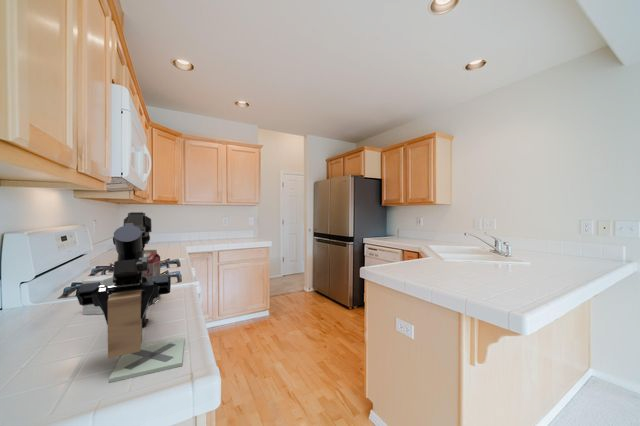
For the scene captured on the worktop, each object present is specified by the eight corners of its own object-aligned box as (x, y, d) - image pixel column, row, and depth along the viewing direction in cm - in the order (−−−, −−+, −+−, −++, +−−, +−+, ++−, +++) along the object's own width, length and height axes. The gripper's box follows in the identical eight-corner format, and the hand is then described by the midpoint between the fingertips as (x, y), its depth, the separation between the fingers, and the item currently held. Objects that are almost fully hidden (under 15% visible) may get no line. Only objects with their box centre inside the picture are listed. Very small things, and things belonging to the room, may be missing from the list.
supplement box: (117, 307, 103) (117, 275, 103) (102, 314, 95) (102, 280, 95) (98, 307, 102) (98, 275, 102) (81, 315, 95) (81, 280, 95)
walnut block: (112, 346, 63) (111, 293, 63) (142, 340, 66) (141, 289, 66) (107, 358, 58) (107, 300, 58) (140, 351, 61) (140, 295, 61)
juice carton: (153, 304, 105) (152, 250, 105) (135, 305, 104) (134, 251, 104) (160, 299, 112) (160, 248, 112) (143, 300, 111) (143, 249, 111)
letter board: (124, 352, 69) (124, 348, 69) (184, 340, 75) (184, 337, 75) (108, 382, 56) (108, 378, 56) (182, 366, 62) (182, 362, 62)
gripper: (78, 249, 60) (63, 312, 51) (170, 244, 70) (172, 296, 61) (86, 276, 67) (74, 336, 58) (169, 268, 77) (170, 318, 67)
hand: (125, 320), depth 61 cm, fingers closed on walnut block, 6 cm apart
